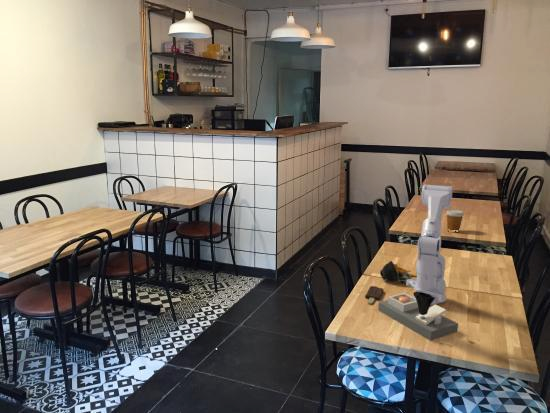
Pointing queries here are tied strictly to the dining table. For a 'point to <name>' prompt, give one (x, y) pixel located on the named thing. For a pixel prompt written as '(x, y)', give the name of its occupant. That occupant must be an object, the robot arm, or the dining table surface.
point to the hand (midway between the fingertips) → (423, 313)
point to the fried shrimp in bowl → (395, 273)
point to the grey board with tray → (408, 317)
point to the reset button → (404, 299)
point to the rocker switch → (431, 314)
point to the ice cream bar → (373, 294)
